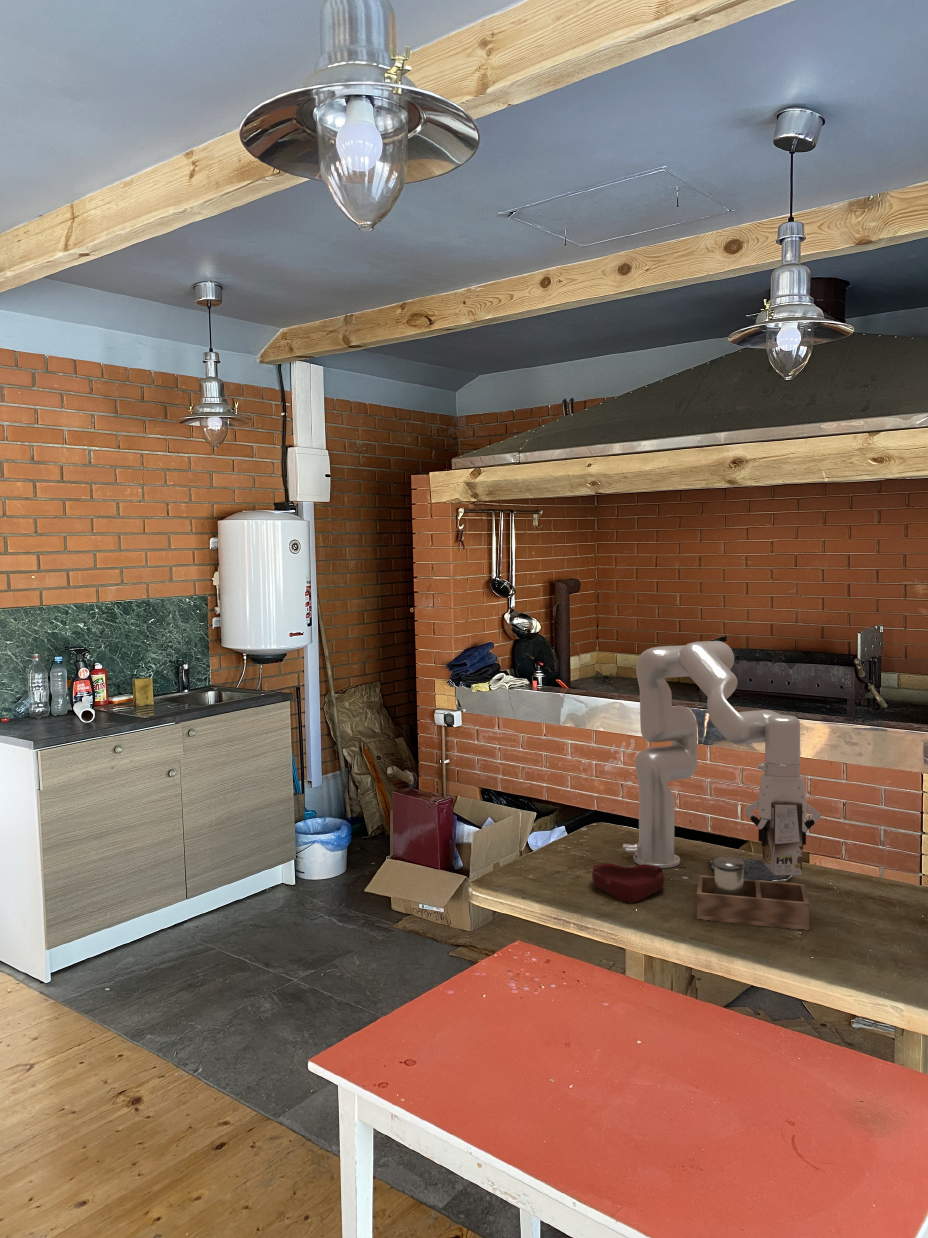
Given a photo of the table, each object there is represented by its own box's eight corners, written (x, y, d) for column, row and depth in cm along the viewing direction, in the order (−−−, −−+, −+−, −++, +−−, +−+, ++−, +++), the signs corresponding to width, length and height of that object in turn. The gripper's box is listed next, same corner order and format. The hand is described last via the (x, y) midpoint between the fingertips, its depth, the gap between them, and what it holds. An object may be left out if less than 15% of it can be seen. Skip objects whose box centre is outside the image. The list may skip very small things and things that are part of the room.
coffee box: (803, 875, 197) (803, 804, 196) (774, 875, 197) (774, 804, 196) (789, 862, 206) (789, 794, 205) (761, 863, 206) (761, 794, 205)
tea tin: (713, 912, 203) (713, 865, 203) (713, 901, 210) (714, 856, 209) (744, 915, 201) (744, 867, 201) (743, 904, 208) (744, 858, 207)
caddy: (696, 919, 201) (696, 893, 201) (698, 899, 214) (698, 875, 213) (809, 930, 194) (809, 904, 194) (804, 909, 207) (804, 884, 206)
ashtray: (593, 904, 212) (593, 884, 212) (591, 881, 228) (591, 862, 228) (669, 907, 210) (669, 886, 209) (662, 883, 226) (662, 864, 226)
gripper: (742, 771, 199) (742, 848, 200) (825, 775, 194) (824, 854, 195) (742, 764, 207) (741, 839, 207) (821, 768, 202) (821, 844, 202)
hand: (781, 845), depth 201 cm, fingers closed on coffee box, 7 cm apart
